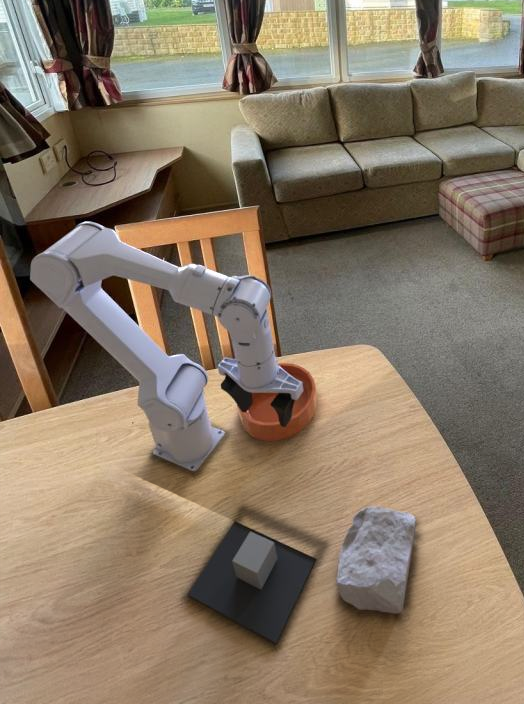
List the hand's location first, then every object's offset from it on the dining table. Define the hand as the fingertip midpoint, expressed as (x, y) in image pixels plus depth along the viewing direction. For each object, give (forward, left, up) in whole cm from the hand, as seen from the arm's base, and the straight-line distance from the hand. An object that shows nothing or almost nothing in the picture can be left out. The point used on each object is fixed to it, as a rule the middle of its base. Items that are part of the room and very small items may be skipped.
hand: (266, 414), depth 79 cm
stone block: (+23, -9, -10) cm, 26 cm away
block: (+8, -16, -9) cm, 20 cm away
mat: (+8, -16, -9) cm, 20 cm away
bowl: (-4, +8, -9) cm, 13 cm away
